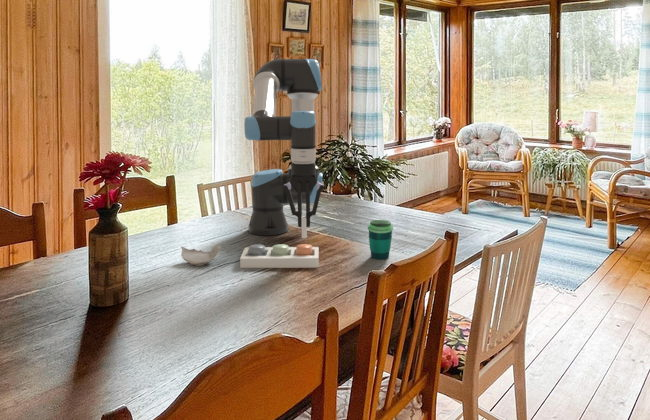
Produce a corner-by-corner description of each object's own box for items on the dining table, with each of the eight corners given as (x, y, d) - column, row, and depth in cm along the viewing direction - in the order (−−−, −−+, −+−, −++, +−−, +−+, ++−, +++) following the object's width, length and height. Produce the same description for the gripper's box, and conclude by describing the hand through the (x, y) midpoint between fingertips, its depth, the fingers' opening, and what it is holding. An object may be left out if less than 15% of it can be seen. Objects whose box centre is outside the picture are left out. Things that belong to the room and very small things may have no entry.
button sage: (272, 258, 172) (271, 248, 172) (273, 253, 177) (273, 244, 176) (288, 257, 172) (287, 248, 172) (289, 253, 177) (288, 244, 177)
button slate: (248, 258, 172) (247, 248, 172) (250, 253, 177) (249, 244, 176) (264, 258, 172) (263, 248, 172) (265, 253, 177) (265, 244, 176)
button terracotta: (296, 257, 172) (296, 248, 172) (296, 253, 177) (296, 244, 177) (312, 257, 172) (312, 248, 172) (312, 253, 177) (312, 244, 177)
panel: (240, 267, 169) (240, 258, 169) (245, 256, 181) (245, 247, 180) (318, 267, 169) (318, 258, 169) (318, 255, 181) (318, 246, 180)
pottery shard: (177, 262, 174) (176, 247, 173) (207, 255, 182) (206, 241, 181) (195, 270, 167) (194, 254, 166) (225, 262, 175) (224, 247, 174)
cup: (394, 255, 181) (395, 220, 178) (389, 263, 173) (390, 226, 171) (370, 253, 184) (371, 218, 181) (364, 260, 176) (364, 224, 173)
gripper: (281, 163, 164) (282, 240, 169) (324, 163, 165) (325, 240, 169) (282, 160, 172) (284, 234, 177) (324, 160, 172) (324, 233, 177)
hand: (304, 236), depth 173 cm, fingers closed
